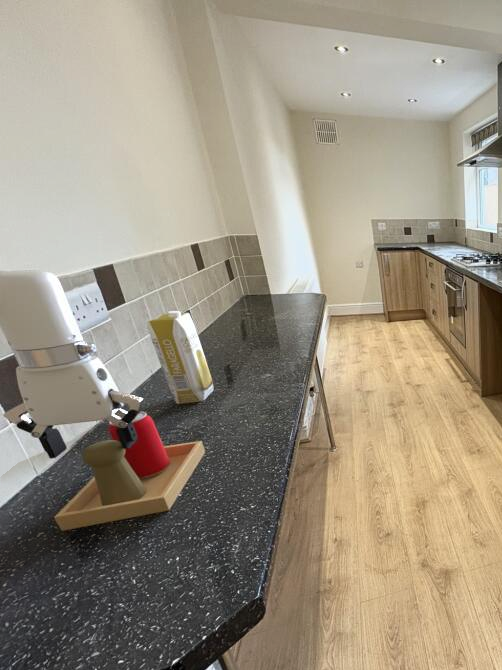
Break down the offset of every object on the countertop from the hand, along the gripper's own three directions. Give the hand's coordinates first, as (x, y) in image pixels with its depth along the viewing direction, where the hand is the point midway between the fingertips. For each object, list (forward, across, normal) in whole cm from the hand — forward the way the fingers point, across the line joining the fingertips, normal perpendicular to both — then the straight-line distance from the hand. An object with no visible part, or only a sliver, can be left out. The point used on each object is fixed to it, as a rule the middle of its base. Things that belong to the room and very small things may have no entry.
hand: (95, 449), depth 70 cm
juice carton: (+11, +1, -46) cm, 47 cm away
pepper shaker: (+10, -2, +1) cm, 10 cm away
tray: (+10, -3, -3) cm, 11 cm away
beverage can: (+10, -3, -7) cm, 12 cm away
